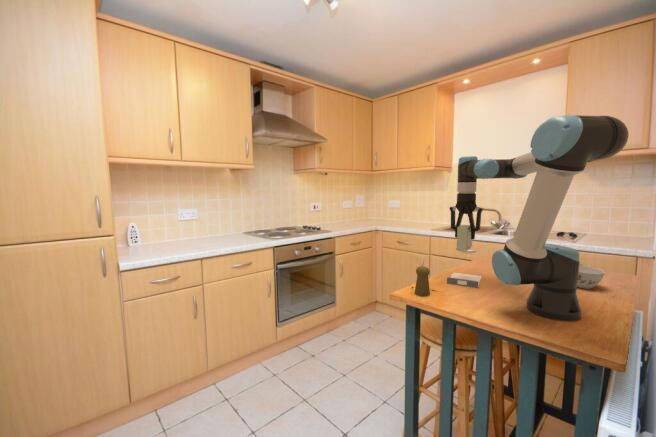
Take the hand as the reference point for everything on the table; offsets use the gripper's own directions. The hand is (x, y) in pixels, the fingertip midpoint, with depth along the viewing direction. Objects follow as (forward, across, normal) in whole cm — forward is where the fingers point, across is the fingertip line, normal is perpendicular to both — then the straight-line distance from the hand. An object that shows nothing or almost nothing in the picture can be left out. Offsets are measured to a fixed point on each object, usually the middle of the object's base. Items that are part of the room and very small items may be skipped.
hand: (464, 245), depth 134 cm
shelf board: (+16, -1, 0) cm, 16 cm away
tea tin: (+1, 0, 0) cm, 1 cm away
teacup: (+17, -42, -25) cm, 51 cm away
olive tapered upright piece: (+17, +8, +25) cm, 31 cm away
